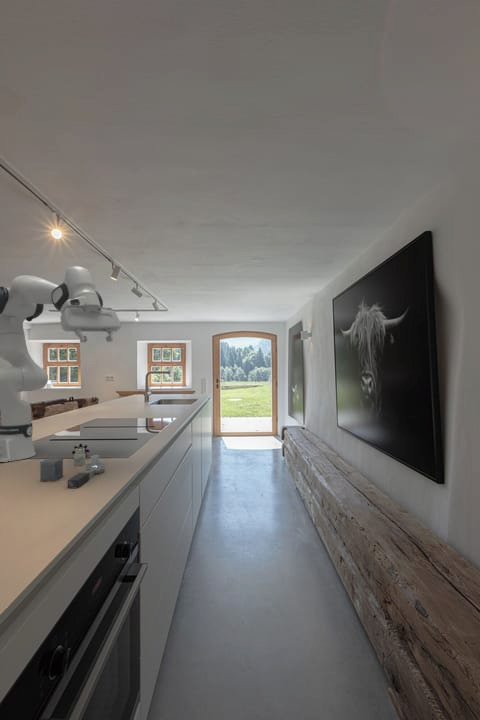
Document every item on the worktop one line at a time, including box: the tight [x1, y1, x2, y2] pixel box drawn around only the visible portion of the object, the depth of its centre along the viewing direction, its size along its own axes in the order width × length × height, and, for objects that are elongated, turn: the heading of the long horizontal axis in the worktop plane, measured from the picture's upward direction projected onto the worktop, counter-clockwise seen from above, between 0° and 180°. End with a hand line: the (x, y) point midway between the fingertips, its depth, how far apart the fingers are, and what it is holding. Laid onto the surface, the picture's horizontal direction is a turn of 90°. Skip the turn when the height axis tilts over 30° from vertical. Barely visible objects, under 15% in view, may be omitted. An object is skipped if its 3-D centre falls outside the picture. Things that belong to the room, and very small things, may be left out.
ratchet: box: [67, 454, 106, 489], centre depth 121 cm, size 6×20×6 cm, turn 179°
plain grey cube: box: [39, 457, 64, 482], centre depth 121 cm, size 5×5×6 cm
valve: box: [71, 443, 90, 467], centre depth 142 cm, size 7×7×12 cm
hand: (97, 341), depth 123 cm, fingers open, 8 cm apart
